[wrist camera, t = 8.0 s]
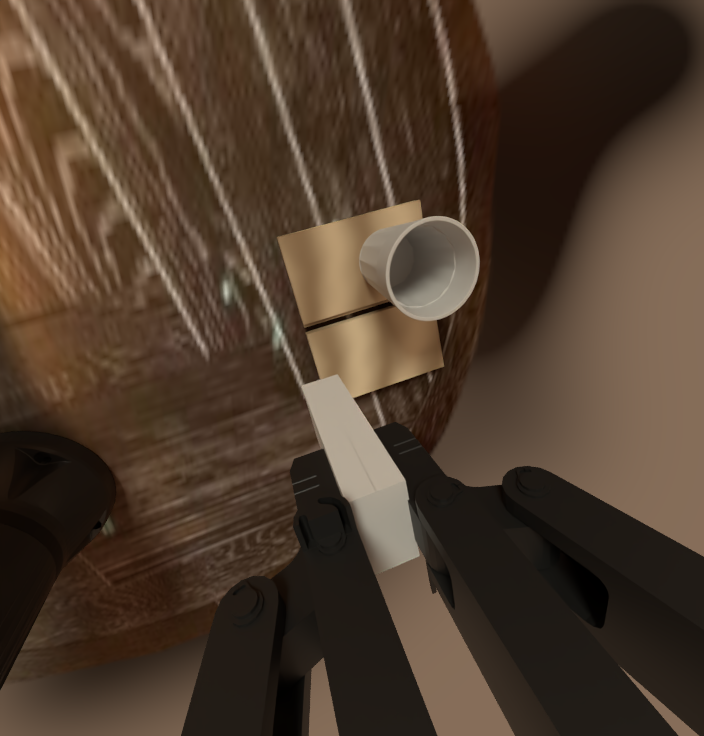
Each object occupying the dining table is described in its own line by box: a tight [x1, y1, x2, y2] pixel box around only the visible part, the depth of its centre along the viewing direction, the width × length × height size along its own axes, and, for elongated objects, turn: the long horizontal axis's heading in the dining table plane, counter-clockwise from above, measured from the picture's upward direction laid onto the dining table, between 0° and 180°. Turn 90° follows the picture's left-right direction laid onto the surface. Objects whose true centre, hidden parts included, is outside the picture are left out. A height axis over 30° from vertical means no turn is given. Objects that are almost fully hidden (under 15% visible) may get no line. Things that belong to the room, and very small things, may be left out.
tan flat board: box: [276, 200, 422, 328], centre depth 38 cm, size 15×9×1 cm, turn 104°
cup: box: [359, 216, 479, 321], centre depth 33 cm, size 8×8×12 cm
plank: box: [305, 305, 444, 398], centre depth 42 cm, size 15×9×1 cm, turn 104°
